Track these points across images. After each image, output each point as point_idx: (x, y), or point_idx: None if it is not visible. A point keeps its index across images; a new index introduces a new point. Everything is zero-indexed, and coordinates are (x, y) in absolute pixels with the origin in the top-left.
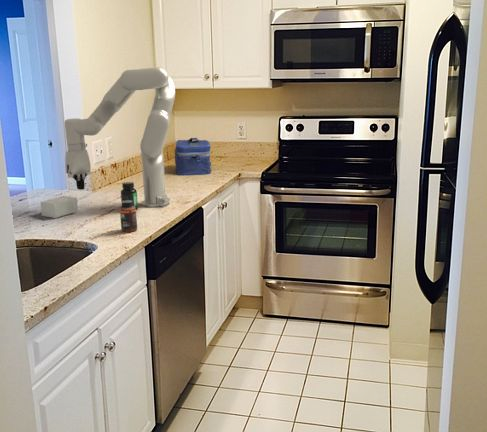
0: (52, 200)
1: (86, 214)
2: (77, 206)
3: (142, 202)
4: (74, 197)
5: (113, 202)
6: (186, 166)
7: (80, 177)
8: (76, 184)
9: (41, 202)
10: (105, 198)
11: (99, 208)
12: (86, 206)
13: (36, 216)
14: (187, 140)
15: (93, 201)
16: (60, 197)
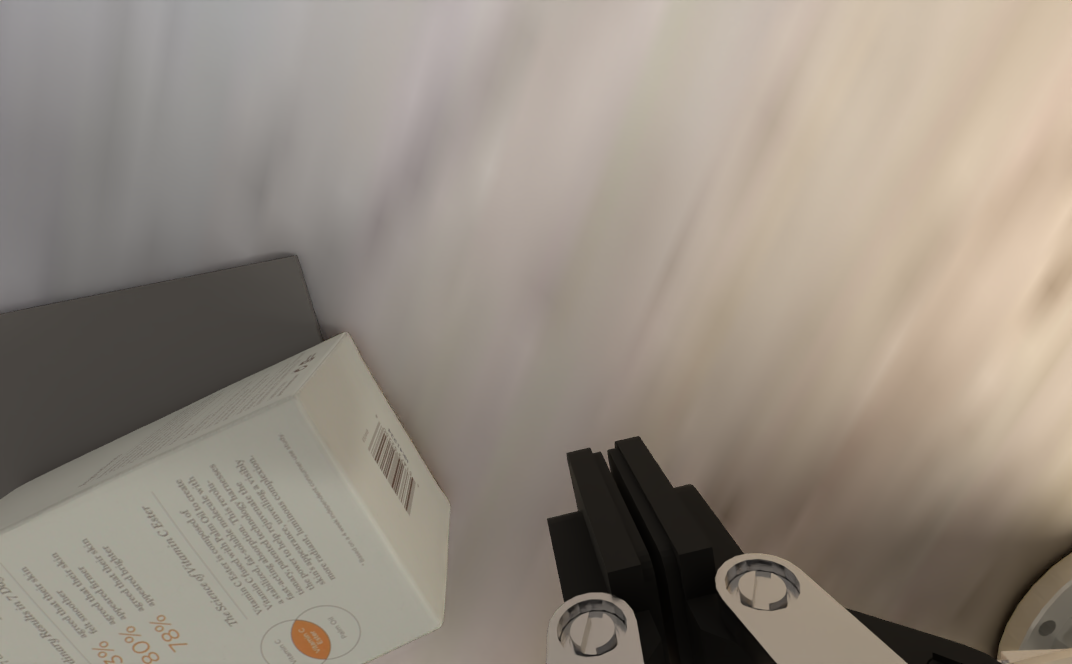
0: (35, 644)
1: (484, 636)
2: (447, 538)
3: (1048, 619)
4: (412, 617)
5: (934, 312)
6: None
7: (754, 659)
8: (554, 552)
9: None
10: (1010, 9)
11: (688, 483)
12: (628, 299)
13: None
14: None
15: (817, 76)
16: (209, 497)
